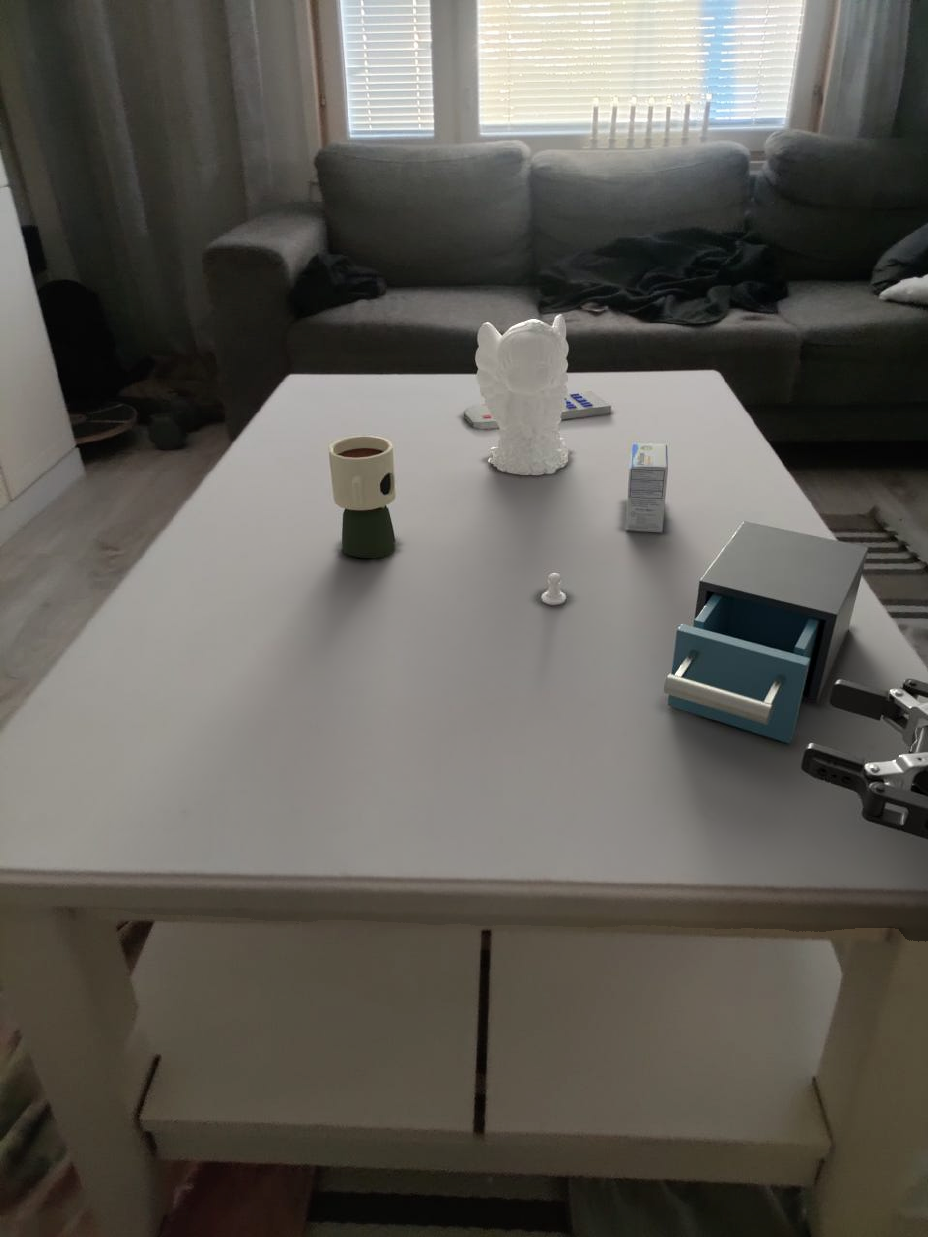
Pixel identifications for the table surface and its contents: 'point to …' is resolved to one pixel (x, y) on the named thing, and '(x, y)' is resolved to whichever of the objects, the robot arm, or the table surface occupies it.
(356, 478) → the character mug
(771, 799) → the table surface
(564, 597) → the chess pawn
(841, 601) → the small drawer unit
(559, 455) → the cherub figurine
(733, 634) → the open teal drawer
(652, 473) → the medicine box
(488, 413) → the remote control
